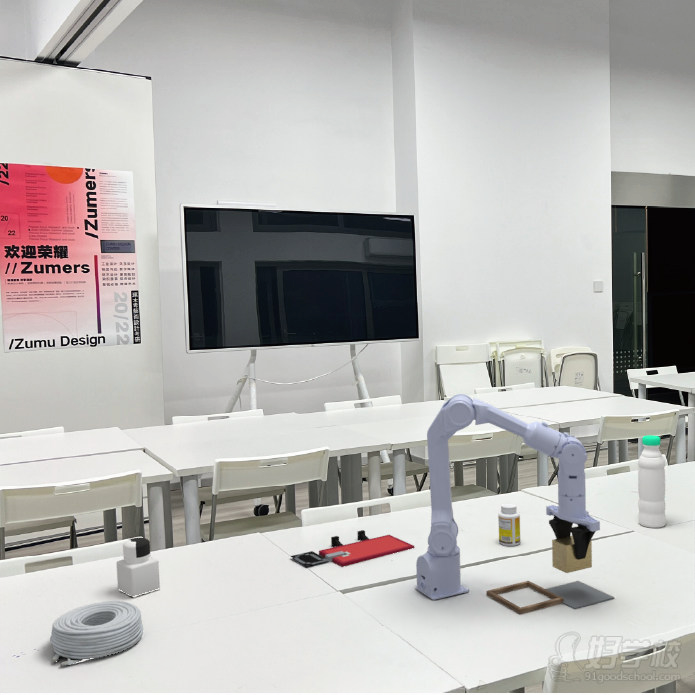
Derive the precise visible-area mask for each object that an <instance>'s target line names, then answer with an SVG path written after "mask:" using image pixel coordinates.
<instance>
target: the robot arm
mask: <svg viewBox="0 0 695 695" xmlns="http://www.w3.org/2000/svg"><path fill="white" fill-rule="evenodd" d="M474 420H475V421H474ZM473 421H474V422H475V426H480V425H484V424H491V425H493V426H495V427H498V428H500V429H502V430H505V431H506V432H509V433H512V434H514V435H517V436H519V437H522V439H523V443H524V445H525V446H526V447H529V448H530V449H533V450H535V451H537V452H539V453H542V454H544V455H545V456H547V457H550V458H557V459H558V471H557V500H558V502H557V503H558V505H554V504H553V505H552V504H551V505H546V507H545V508H546V509H545V511H546V513H545V514H546V515H547V516H553V518H552V519H549V520H548V525H549V526H550V527H551V529H552V531H553V533H554V536H555V539H559V538H563V537H568V536H573V540H574V545H575V556H576V559H578V560H580V559H584V558H585V557H586V553H587V550H588V546H589V543H590V541H591V540H592V538H593V536H594V535H595V533H596V532H598V531H601V522H600V520H597V519H595V518H594V517H592V516H591V515H590V514H589V511H588V510H586V508H587V506H586V502H587V501H586V497H587V496H586V489H587V488H586V472H585V468H586V464H585V463H586V461H587V460H588V454H587V451H586V448H585V447H584V444H583V443H582V442H581V440H580V439H578V438H576V437H575V436H574V435H569V433H567V432H565V431H564V432H560V431H558V430H556V429H554V428H552V427H550V426H549V424H548V423H547V422H546V421H543V420H542V422H539V421H533V422H530V423H527V422H526V421H523V420H521V419H520V418H518V417H515V416H514V415H511V414H509V413H507V412H505V411H503V410H502V409H499V408H498V407H496V406H493V405H492V404H490V403H488V402H485V401H483V400H480V399H478V398H475V397H474V398H471V397H470V396H468V395H467V394H463V393H459V394H456V395H454V396H453V395H452V397H450V398H449V399H448V400H446V402H444V403H443V405H441V408H440V410H439V411H438V413H437V414H436V416H435V418H434V419H433V421H432V422H431V424H430V426H429V427H428V429H427V433H426V440H427V454H428V455H427V458H428V472H429V474H428V475H429V476H428V477H429V492H430V508H431V516H430V517H431V519H430V521H431V522H430V524H431V525H430V530H429V531H430V532H429V534H428V538H427V545H428V547H427V551H426V552H425V553H424V554H422V555H419V556H417V559H416V563H415V564H416V565H415V566H416V586H415V587H414V588H415V589H416V590H417V591H419V592H420V593H422V594H424V595H425V596H426V597H428V598H429V599H431V600H433V601H435V600H440V599H443V598H447V597H451V596H456V595H460V594H465V593H468V592H470V590H469V588H467V587H465V586H464V585H462V584H461V583H462V582H461V581H462V579H461V578H462V577H461V574H462V573H461V549H460V548H461V547H459V546H458V543H457V542H458V539H457V538H458V534H459V527H458V524H457V522H456V519H455V518H454V509H453V502H452V498H453V497H452V483H451V482H452V480H451V468H450V451H449V450H450V449H449V448H450V447H449V441H450V439H451V438H452V437H453V436H454V435H455V434H456V433H457V432H459V431H461V430H463V429H465V428H467V427H469V426H470V425H471V424H472V423H473ZM573 524H575V525H577V526H573Z"/></svg>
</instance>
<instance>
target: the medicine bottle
mask: <svg viewBox="0 0 695 695" xmlns="http://www.w3.org/2000/svg"><path fill="white" fill-rule="evenodd" d="M122 549H123V550H122V552H123V553H122V555H123V559H121V560H118V561H116V562H115V564H116V578H117V579H116V580H117V590H118V589H120V590H122V591H123V592H125V593H127V594H129V595H131V596H135V595H139V594H142V593H145V592H149V591H152V590H155V589H158V588H160V589H161V585H160V584H161V583H160V564H159V560H158V559H156V558H154V557H151V542H150V540H149V539H148V538H145V537H133V538H130V539H127V540H126V541H124V543H123V544H122Z"/></svg>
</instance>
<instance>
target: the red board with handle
mask: <svg viewBox="0 0 695 695" xmlns="http://www.w3.org/2000/svg"><path fill="white" fill-rule="evenodd" d="M362 539H363V540H362ZM359 540H360V541H359ZM330 543H331V544H330V545H331V547H330V548H324V549H320V550H318V553H317V552H314V551H313V550H312V551H308V552H302V553H299V554H293V555H290V557H291V558H293V559H294V560H295V561H298V562H299V563H301V564H303V566H305V567H308V566H312V565H316V564H320V563H325V562H327V563H329V562H330V563H334V564H335V565H337V566H340V567H341V568H344V566H345V567H347V566H352V565H356V564H359V563H364V562H366V561H370V560H375V559H378V558H382V557H385V556H389V555H393V553H394V554H397V552H398V553H401V552H404V551H405V552H406V551H408V549H409V550H413V549H415V545H413V544H411V543H408V541H406V540H405V541H404V540H402V539H400V538H398V537H395V536H393V535H391V534H387V535H382V536H377V537H374V538H373V537H371V538H369V537H368V536H367V535H366V531H365V530H363V529H362V530H359V531H358V530H357V541H356V542H351V543H347V544H343V543H342V542H341V541H340V536H338V535H334V536H331V537H330ZM335 546H336V547H335ZM412 548H413V549H412Z"/></svg>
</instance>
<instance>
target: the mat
mask: <svg viewBox="0 0 695 695" xmlns="http://www.w3.org/2000/svg"><path fill="white" fill-rule="evenodd" d="M545 589H546V590H548V591H550V592H552V593H554V594H556V595H558V596H560V597H562V598H564V602H563V603H562V604H563V605H564V606H568V607H570V608H571V609H573V610H577V609H581V608H585V607H589V606H592V605H597V604H599V603H603V602H607V601H611V600H614V599H615V596H613V595H610V594H609V593H606V592H603V591H601V590H600V589H597V588H596V587H593V586H591V585H588V584H586V583H584V582H582V581H580V580H576V581H572V582H571V581H570V582H569V583H564V584H563V583H562V584H559V585H556V586H552V587H551V586H550V587H547V588H545Z"/></svg>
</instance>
